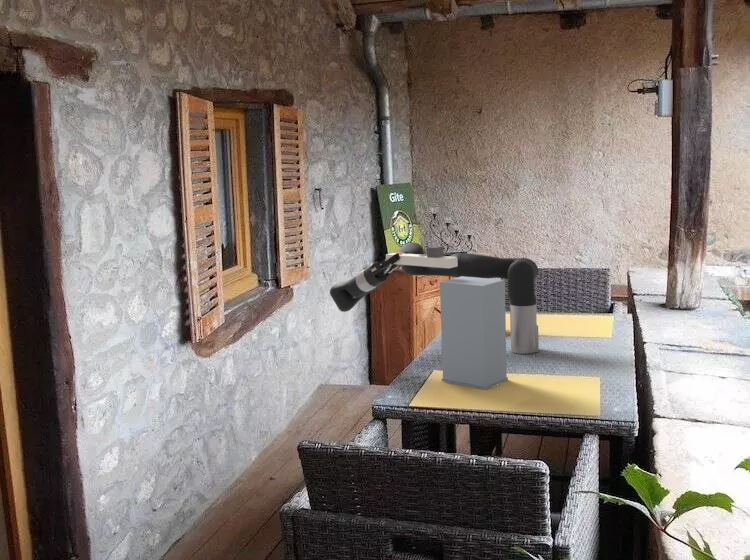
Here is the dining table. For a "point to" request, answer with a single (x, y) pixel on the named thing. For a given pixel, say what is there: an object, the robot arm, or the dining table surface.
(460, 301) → the post
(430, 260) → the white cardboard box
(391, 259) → the robot arm
